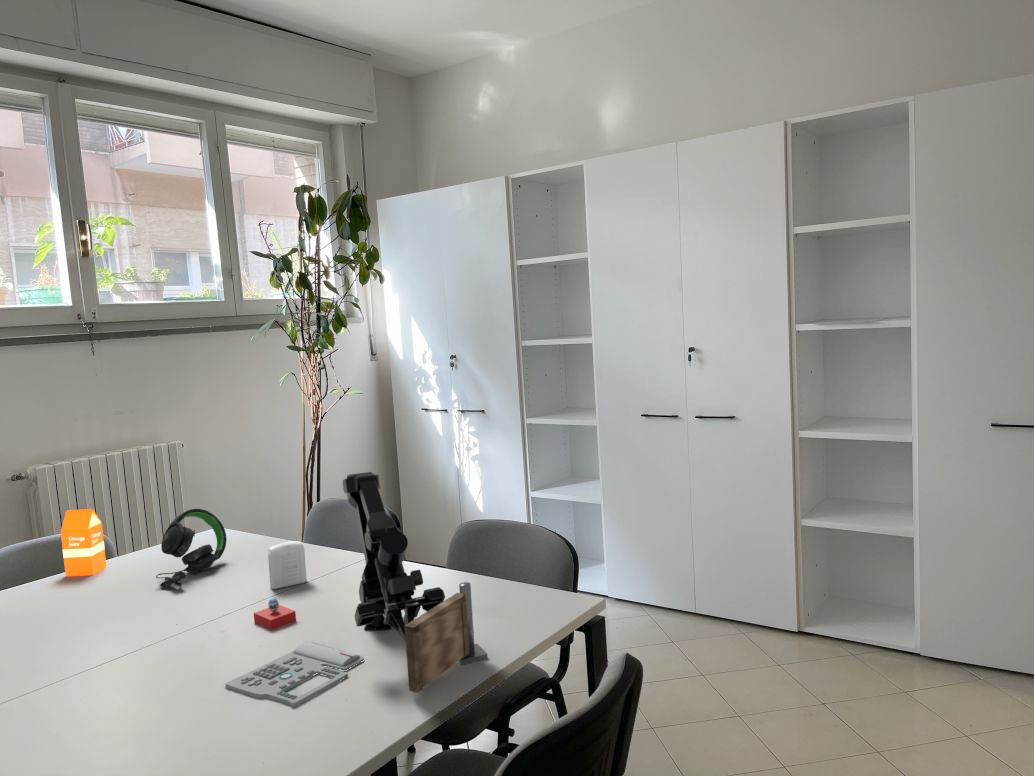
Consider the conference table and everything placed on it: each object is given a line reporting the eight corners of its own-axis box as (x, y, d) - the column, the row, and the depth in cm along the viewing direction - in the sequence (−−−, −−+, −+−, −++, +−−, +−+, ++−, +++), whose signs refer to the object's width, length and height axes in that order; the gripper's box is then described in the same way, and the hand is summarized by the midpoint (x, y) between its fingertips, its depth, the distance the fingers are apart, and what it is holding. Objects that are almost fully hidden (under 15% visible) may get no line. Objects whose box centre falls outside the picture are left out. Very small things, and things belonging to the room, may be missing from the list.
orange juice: (93, 575, 238) (86, 512, 236) (65, 576, 238) (58, 513, 236) (107, 566, 245) (100, 505, 244) (79, 568, 246) (73, 507, 244)
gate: (461, 651, 164) (457, 592, 163) (469, 653, 163) (465, 594, 162) (409, 690, 148) (404, 625, 147) (418, 692, 147) (413, 627, 146)
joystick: (296, 622, 191) (294, 597, 190) (271, 631, 186) (269, 606, 185) (279, 614, 196) (277, 591, 196) (254, 623, 191) (252, 599, 190)
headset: (176, 610, 227) (224, 540, 250) (202, 597, 220) (249, 526, 244) (128, 572, 220) (183, 504, 244) (154, 557, 214) (207, 488, 237)
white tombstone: (304, 578, 223) (300, 537, 222) (309, 582, 219) (305, 540, 218) (268, 587, 217) (264, 544, 216) (272, 591, 214) (269, 547, 212)
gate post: (477, 647, 169) (472, 577, 167) (487, 658, 163) (483, 585, 162) (451, 654, 166) (446, 582, 165) (461, 664, 161) (456, 591, 160)
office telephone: (311, 636, 176) (374, 652, 165) (311, 647, 176) (375, 664, 166) (223, 677, 157) (289, 698, 146) (224, 689, 157) (290, 712, 146)
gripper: (353, 567, 158) (370, 638, 149) (439, 550, 165) (460, 617, 157) (348, 591, 166) (363, 660, 157) (430, 575, 173) (449, 640, 165)
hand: (410, 644), depth 159 cm, fingers closed
